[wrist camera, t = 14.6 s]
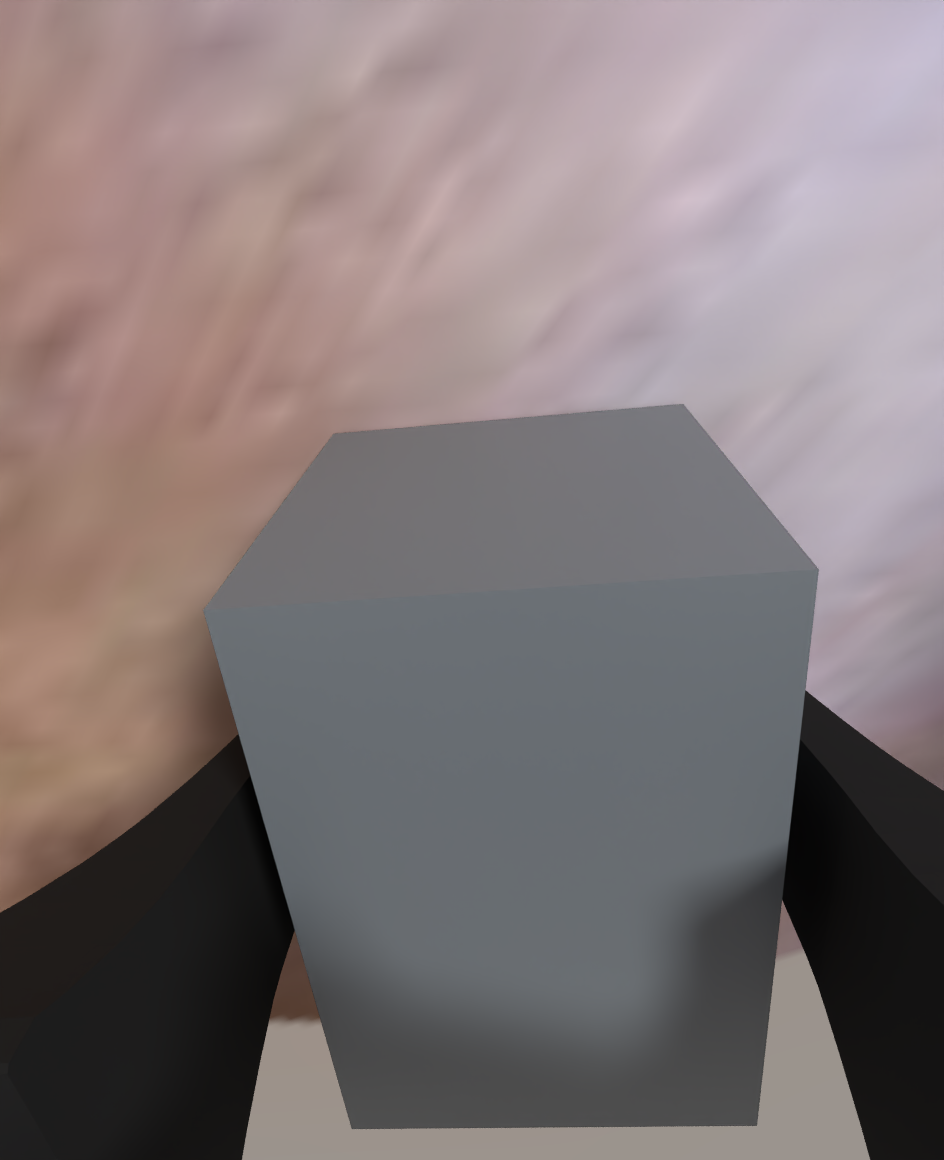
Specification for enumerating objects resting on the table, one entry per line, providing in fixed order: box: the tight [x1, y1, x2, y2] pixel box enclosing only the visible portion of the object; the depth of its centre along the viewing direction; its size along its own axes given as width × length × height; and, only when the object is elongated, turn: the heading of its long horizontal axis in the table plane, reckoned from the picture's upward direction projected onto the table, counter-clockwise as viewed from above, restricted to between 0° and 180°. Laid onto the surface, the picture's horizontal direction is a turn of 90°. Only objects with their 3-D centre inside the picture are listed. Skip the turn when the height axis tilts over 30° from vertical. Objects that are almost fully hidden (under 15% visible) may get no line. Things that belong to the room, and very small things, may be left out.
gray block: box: [203, 404, 819, 1129], centre depth 12 cm, size 6×9×6 cm, turn 5°
